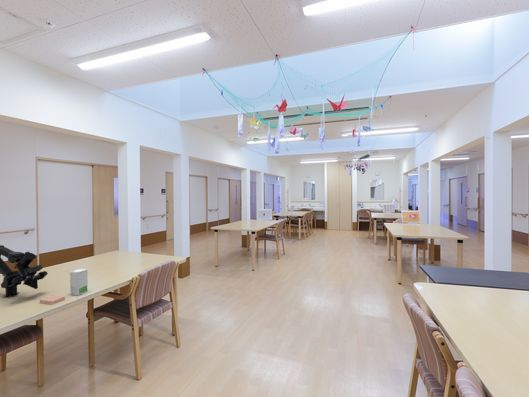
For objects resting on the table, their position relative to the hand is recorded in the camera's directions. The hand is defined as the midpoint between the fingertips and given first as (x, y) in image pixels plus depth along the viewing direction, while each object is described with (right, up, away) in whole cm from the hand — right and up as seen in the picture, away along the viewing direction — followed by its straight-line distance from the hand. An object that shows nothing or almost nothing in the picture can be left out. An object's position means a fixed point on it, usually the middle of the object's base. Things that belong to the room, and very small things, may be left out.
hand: (36, 288), depth 172 cm
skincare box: (+20, -7, +11) cm, 23 cm away
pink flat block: (+8, -6, -2) cm, 10 cm away
